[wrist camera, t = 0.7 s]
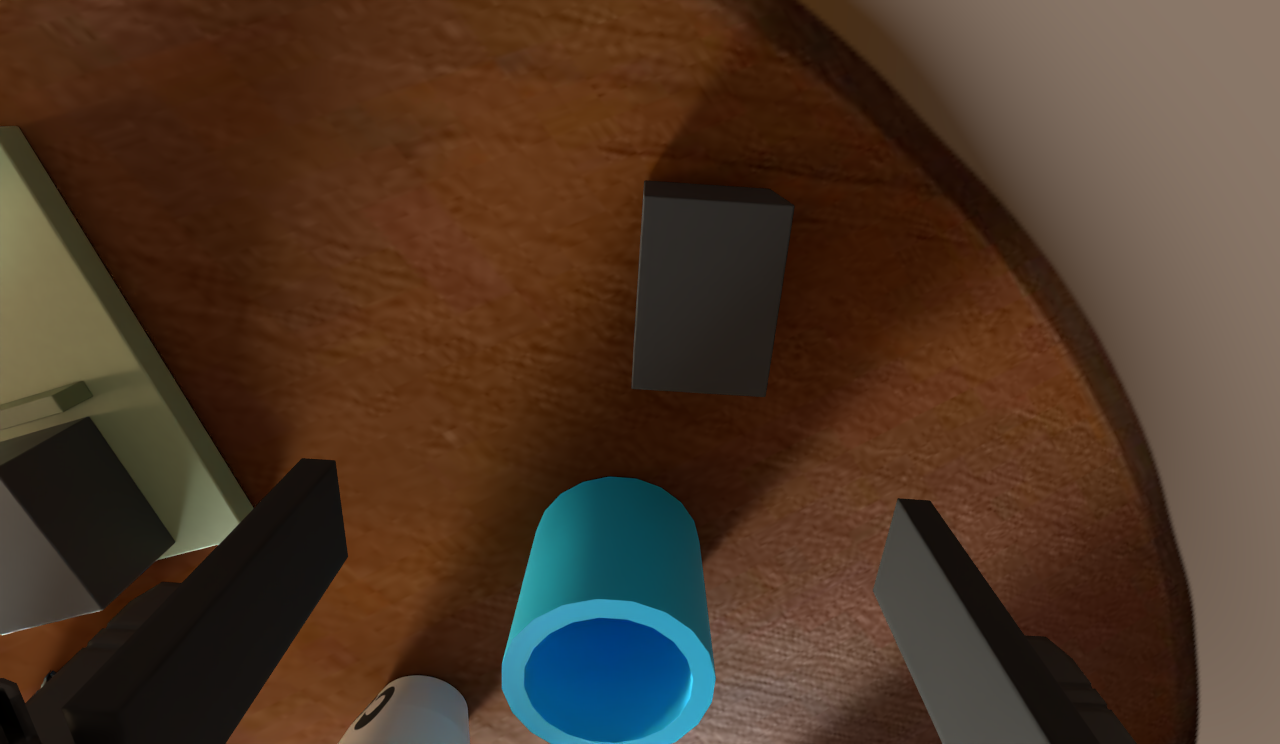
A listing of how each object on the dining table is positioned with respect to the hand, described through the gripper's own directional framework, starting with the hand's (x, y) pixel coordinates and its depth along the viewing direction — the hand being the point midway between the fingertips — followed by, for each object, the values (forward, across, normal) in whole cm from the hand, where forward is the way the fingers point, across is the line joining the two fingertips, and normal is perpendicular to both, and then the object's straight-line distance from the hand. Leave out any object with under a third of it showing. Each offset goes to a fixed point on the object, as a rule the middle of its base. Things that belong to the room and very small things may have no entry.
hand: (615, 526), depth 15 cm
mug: (+14, 0, -13) cm, 19 cm away
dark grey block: (+14, +3, +3) cm, 14 cm away
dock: (+14, -26, -4) cm, 30 cm away
